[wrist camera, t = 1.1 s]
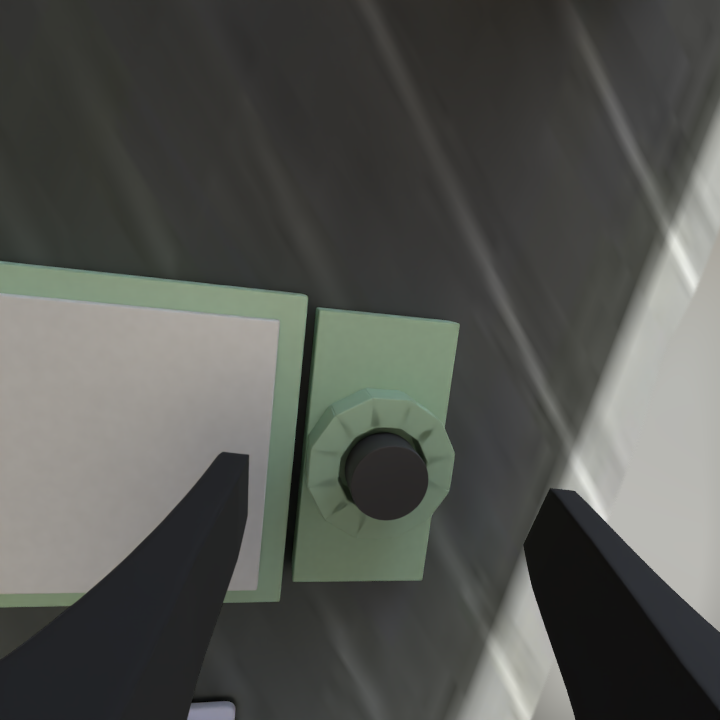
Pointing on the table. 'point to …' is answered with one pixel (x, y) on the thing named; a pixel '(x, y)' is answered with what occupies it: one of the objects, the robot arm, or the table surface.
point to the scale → (137, 420)
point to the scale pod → (360, 419)
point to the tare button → (386, 476)
